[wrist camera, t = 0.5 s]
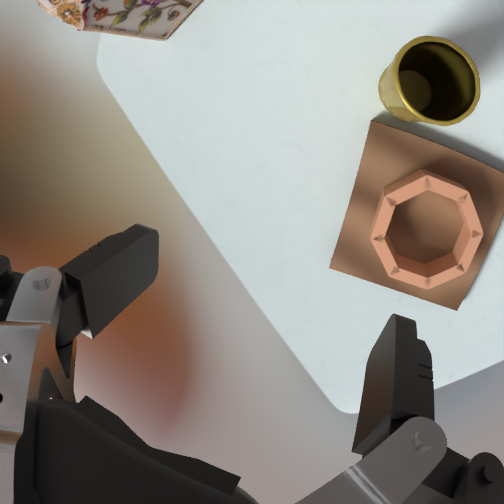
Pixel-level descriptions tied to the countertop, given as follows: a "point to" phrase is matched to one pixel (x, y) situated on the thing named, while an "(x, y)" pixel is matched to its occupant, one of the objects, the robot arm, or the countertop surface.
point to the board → (416, 212)
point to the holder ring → (444, 265)
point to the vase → (430, 82)
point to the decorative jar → (123, 15)
